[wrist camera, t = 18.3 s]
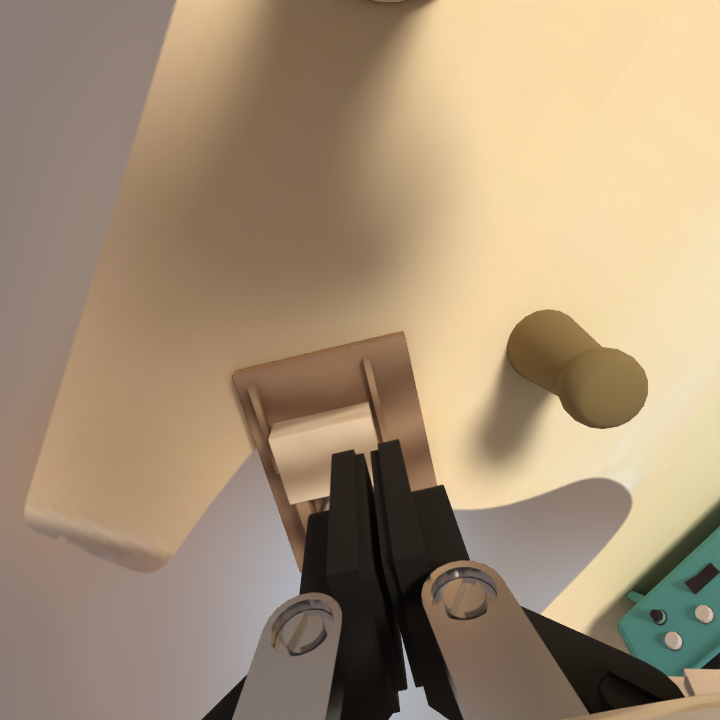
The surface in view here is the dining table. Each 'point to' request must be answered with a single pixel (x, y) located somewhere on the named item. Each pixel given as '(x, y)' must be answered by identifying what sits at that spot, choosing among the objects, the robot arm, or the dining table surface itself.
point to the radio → (679, 615)
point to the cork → (578, 369)
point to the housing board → (333, 391)
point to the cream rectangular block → (320, 448)
